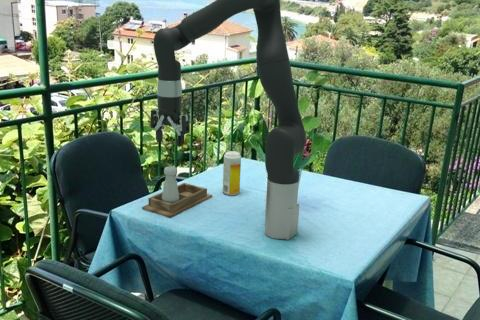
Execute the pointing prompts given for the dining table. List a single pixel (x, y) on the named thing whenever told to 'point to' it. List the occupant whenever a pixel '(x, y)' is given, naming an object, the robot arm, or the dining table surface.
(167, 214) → the slot caddy
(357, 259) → the dining table surface
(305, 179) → the dining table surface
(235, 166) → the white yellow canister
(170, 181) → the salt shaker
